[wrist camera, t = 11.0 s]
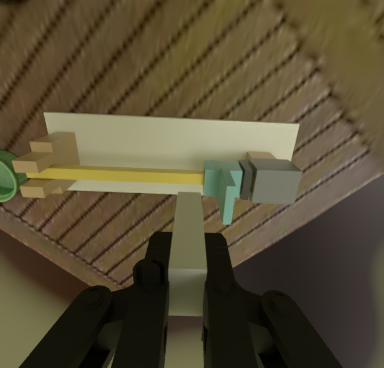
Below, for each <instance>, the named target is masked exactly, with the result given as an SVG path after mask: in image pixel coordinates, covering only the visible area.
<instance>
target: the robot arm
mask: <svg viewBox="0 0 384 368" xmlns="http://www.w3.org/2000/svg"><path fill="white" fill-rule="evenodd" d="M133 279H134V284H132V285H131V286H129V287H127V288H124V289H121V290H117V291H113V292H111V291H110V289H109V288H107V287H105V286H100V285H96V286H92V287H89V288H87V289H85V290H83V291H82V292H81V293H80V294H79V295H78V296H77V297H76V298H75V299H74V301H73V302H72V303H71V304H70V306H69V307H68V308H67V309H66V310H65V312H64V313H63V314H62V315H61V317H60V318H59V319H58V320H57V321H56V323H55V324H54V325H53V326H52V328H51V329H50V330H49V331H48V332H47V334H46V335H45V336H44V338H43V339H42V340H41V341H40V342H39V344H38V345H37V346H36V347H35V348H34V350H33V351H32V352H31V353H30V354H29V356H28V357H27V358H26V360H25V361H24V362H23V363H22V364H21V365H20V367H19V368H107V367H108V365H109V363H110V361H111V359H112V357H113V355H114V353H115V355H114V358H113V362H112V366H111V368H164V363H165V353H166V342H167V331H168V315H180V316H203V330H202V341H203V351H204V353H203V354H204V368H258V367H259V368H343V367H342V366H341V365H340V363H339V362H338V360H337V359H336V358H335V356H334V355H333V353H332V352H331V351H330V349H329V348H328V347H327V346H326V344H325V342H324V341H323V340H322V338H321V337H320V336H319V334H318V333H317V331H316V330H315V329H314V327H313V326H312V325H311V323H310V322H309V320H308V319H307V318H306V316H305V315H304V314H303V312H302V311H301V309H300V308H299V307H298V305H297V304H296V303H295V301H294V300H293V299H292V298H291V297H290V296H288V295H287V294H285V293H283V292H280V291H277V290H269V291H267V292H265V293H264V294H263V295H262V296H260V295H257V294H254V293H251V292H249V291H246V290H245V289H243V288H242V287H241V286H239V284H238V282H236V281H235V278H234V274H233V270H232V265H231V260H230V256H229V251H228V246H227V242H226V239H225V238H224V236H223V235H222V234H221V233H204V224H203V211H202V199H201V192H178V195H177V203H176V211H175V219H174V227H173V232H155V233H154V234H153V235H152V236H151V237H150V240H149V244H148V248H147V252H146V255H145V259H142V260H140V261H139V262H137V263H136V264H135V266H134V268H133Z"/></svg>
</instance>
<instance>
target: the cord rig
mask: <svg viewBox="0 0 384 368" xmlns="http://www.w3.org/2000/svg"><path fill="white" fill-rule="evenodd" d="M44 117H45V121H46V126H47V130H48V135H46V136H43V137H41V138H38V139H36V140H33V141H30V146H31V150H32V152H30V153H28V154H25V155H23V156H21V157H19V158H16V159H14V160H12V163H13V167H14V170H15V172H17V173H26V175H27V178H32V179H31V180H29V181H27V182H26V183H24V184H23V185H21V186H20V190H21V193H22V196H23V197H36V198H45V197H47V196H48V195H49V194H50V193H64V192H65V191H66V190H81V191H106V192H131V193H157V194H178V192H201V195H203V185H204V178H205V170H203V169H204V160H213V161H236V162H238V164H239V166H240V167H241V169H242V171H243V172H242V179H241V185H240V192H239V197H240V198H241V199H242V200H248V197H249V198H250V200H251V202H252V203H271V204H294V201H295V198H296V194H297V190H298V187H299V183H300V179H301V175H302V171H301V170H300V169H299V168H298V167H296V166H295V165H294V164H293V163H292V162H291V158H292V154H293V149H294V145H295V141H296V137H297V133H298V129H299V124H298V123H287V122H265V121H244V120H222V119H200V118H178V117H156V116H134V115H113V114H91V113H69V112H44Z"/></svg>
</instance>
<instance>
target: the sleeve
mask: <svg viewBox="0 0 384 368" xmlns="http://www.w3.org/2000/svg"><path fill="white" fill-rule="evenodd" d="M203 170H205V178H204V185H203V195H204V196H214V197H218V198H217V200H218V205H219V210H220V215H221V219H222V224H231V220H232V213H233V206H234V199H235V197H239V192H240V185H241V179H242V172H243V171H242V169H241V167H240V166H239V164H238V162H236V161H213V160H204V169H203Z"/></svg>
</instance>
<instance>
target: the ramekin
mask: <svg viewBox="0 0 384 368" xmlns="http://www.w3.org/2000/svg"><path fill="white" fill-rule="evenodd" d="M16 158H18V157H17V156H15V155H14V154H12V153H10V152H7V151H3V150H0V202H4V201H7V200H9V199H11V198H12V197H13V196H14V195H15V194H16V193H17V192H18V191H19V190H20V186H21V185H23V184H24V183H26V182H27V181H28V178H27V175H26V173H17V172H15V170H14V167H13V163H12V160H14V159H16Z"/></svg>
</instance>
